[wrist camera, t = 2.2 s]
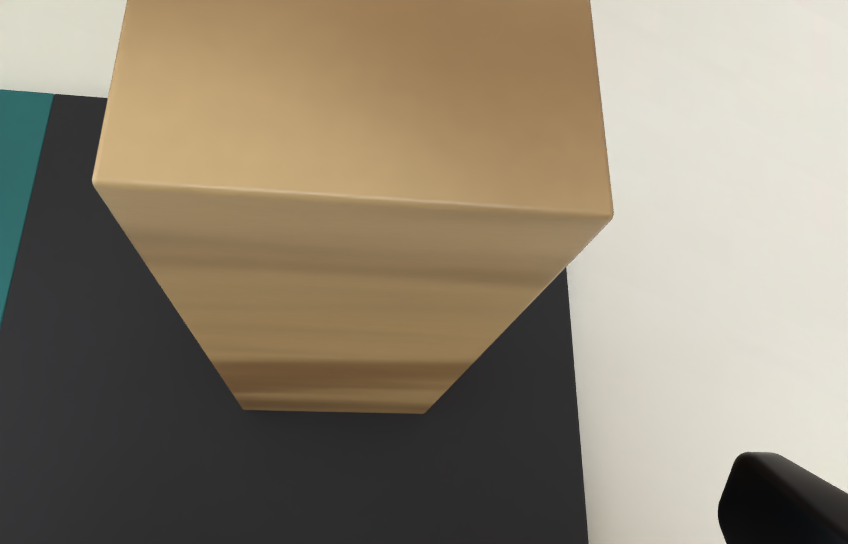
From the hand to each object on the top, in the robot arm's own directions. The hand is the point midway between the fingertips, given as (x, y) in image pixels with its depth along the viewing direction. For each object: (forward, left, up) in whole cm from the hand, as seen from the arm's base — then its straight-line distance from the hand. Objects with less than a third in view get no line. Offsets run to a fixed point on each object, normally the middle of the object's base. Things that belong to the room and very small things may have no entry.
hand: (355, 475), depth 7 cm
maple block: (+5, 0, -11) cm, 12 cm away
